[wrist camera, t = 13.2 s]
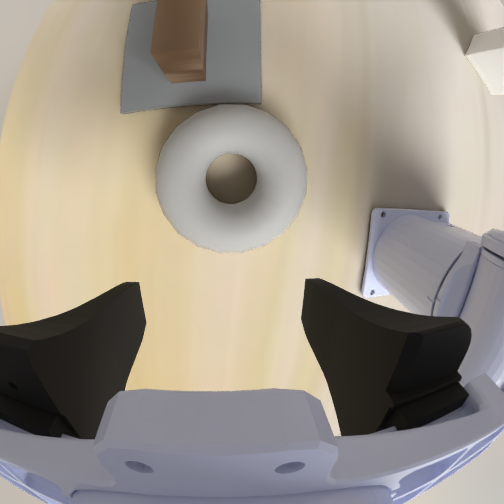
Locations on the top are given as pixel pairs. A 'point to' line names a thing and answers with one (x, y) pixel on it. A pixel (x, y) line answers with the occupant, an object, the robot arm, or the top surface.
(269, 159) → the donut
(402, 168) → the top surface
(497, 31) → the milk
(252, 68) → the mat
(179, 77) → the tall brown wooden block
